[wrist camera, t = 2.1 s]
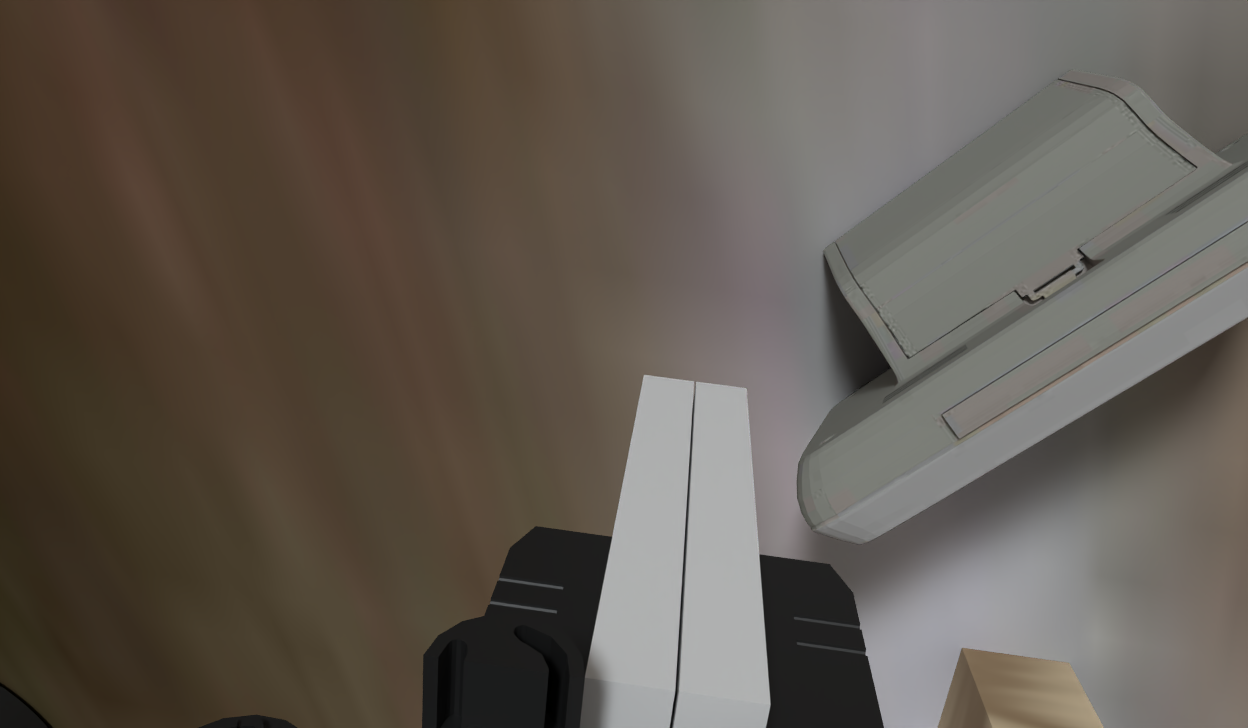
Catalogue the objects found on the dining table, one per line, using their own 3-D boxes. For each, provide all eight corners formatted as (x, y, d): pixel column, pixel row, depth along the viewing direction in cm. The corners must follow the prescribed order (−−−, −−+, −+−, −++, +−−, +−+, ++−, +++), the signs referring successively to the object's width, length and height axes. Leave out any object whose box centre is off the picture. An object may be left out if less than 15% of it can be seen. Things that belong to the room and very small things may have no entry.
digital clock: (827, 464, 32) (876, 671, 22) (714, 242, 29) (713, 364, 19) (1318, 264, 28) (1650, 408, 18) (1237, -15, 25) (1573, -27, 15)
